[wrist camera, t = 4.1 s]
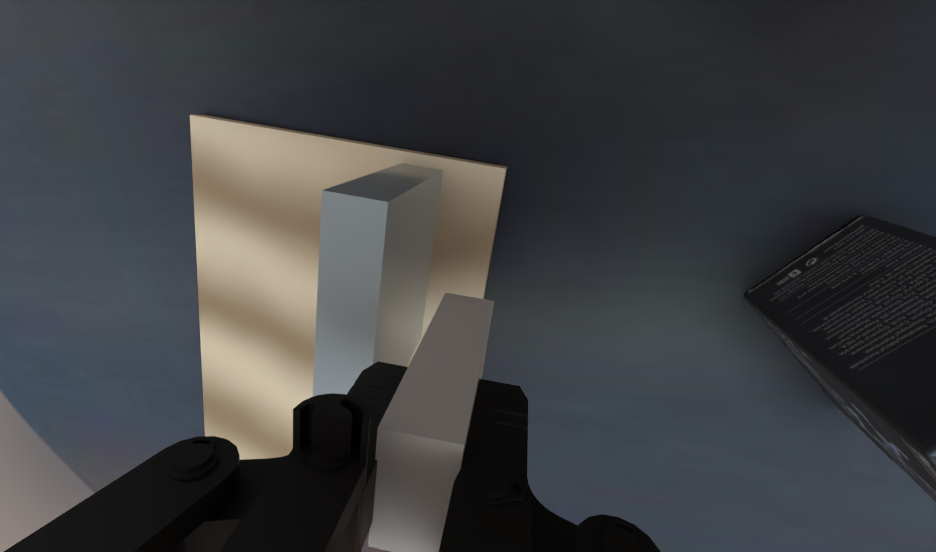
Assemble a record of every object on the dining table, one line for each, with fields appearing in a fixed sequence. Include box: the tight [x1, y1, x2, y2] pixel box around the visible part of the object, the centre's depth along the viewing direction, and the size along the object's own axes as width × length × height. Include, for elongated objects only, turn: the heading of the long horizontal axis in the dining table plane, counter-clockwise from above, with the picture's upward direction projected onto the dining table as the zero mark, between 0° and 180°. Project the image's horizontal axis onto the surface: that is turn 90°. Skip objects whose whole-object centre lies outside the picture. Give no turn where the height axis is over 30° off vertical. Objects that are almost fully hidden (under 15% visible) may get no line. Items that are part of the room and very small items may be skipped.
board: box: [190, 115, 507, 460], centre depth 24 cm, size 20×14×1 cm
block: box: [313, 163, 443, 397], centre depth 17 cm, size 8×2×8 cm, turn 171°
